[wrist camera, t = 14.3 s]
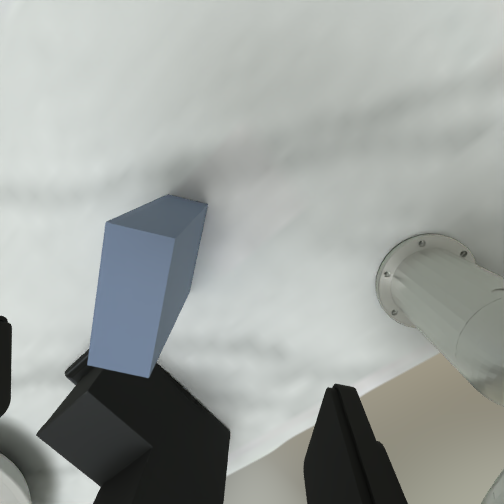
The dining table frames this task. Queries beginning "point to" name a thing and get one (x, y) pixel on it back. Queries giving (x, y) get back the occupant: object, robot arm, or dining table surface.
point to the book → (144, 282)
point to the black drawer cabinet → (139, 438)
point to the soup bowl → (12, 484)
